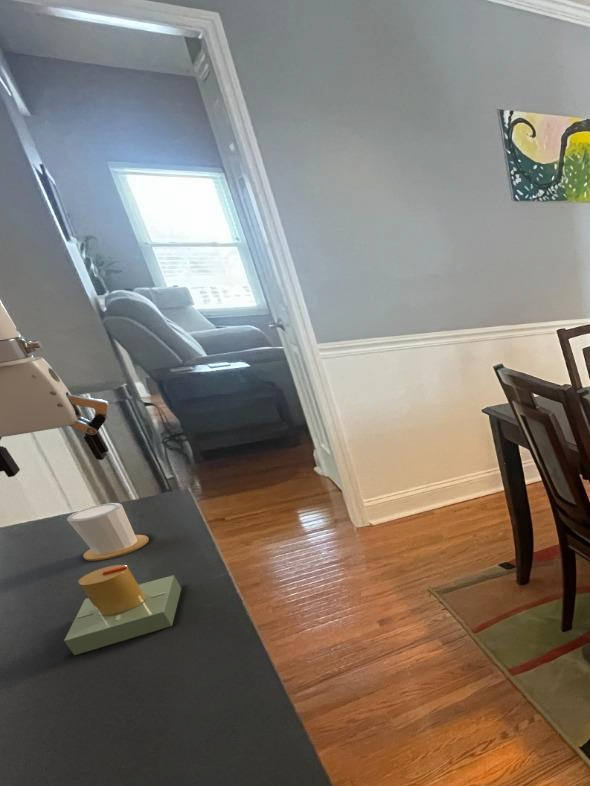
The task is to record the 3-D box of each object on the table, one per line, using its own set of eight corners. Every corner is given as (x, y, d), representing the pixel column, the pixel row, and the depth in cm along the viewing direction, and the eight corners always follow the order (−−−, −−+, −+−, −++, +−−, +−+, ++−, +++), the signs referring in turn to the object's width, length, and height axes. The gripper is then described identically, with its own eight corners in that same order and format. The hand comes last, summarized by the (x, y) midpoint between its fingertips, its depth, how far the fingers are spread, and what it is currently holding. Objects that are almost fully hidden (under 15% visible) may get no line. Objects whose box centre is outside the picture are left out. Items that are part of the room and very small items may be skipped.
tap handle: (95, 620, 82) (72, 586, 79) (102, 603, 85) (81, 571, 83) (143, 606, 84) (123, 573, 81) (148, 590, 88) (129, 559, 85)
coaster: (79, 566, 100) (77, 564, 100) (90, 546, 106) (89, 544, 106) (144, 549, 104) (143, 547, 104) (152, 532, 111) (151, 530, 110)
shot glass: (103, 559, 101) (80, 523, 98) (80, 553, 103) (57, 517, 100) (150, 539, 107) (130, 505, 104) (127, 534, 109) (107, 500, 106)
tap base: (74, 655, 79) (62, 639, 78) (94, 612, 88) (84, 598, 86) (172, 626, 84) (162, 610, 83) (181, 588, 93) (173, 574, 91)
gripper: (80, 341, 91) (137, 445, 99) (-93, 360, 82) (-16, 473, 90) (70, 348, 86) (131, 457, 94) (-117, 369, 77) (-32, 489, 85)
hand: (59, 465), depth 92 cm, fingers open, 9 cm apart
